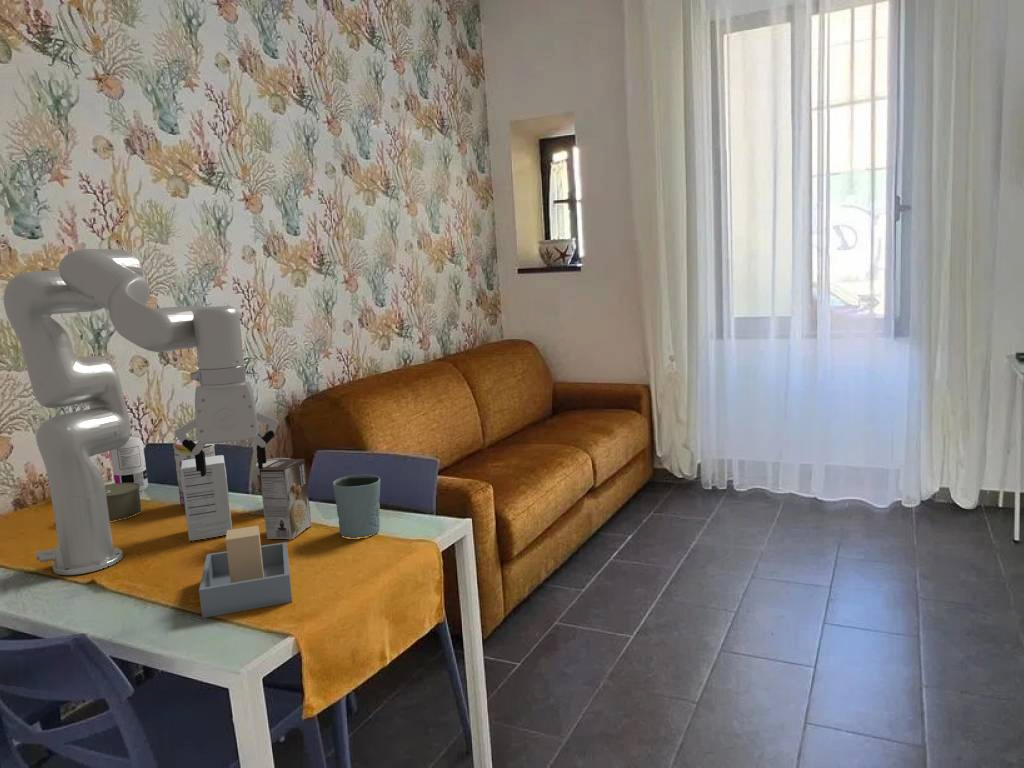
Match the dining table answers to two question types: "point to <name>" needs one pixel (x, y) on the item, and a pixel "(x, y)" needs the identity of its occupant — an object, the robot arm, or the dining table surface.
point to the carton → (244, 554)
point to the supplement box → (206, 498)
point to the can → (122, 500)
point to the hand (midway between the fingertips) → (232, 471)
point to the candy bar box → (186, 454)
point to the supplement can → (130, 463)
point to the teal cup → (358, 505)
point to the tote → (245, 583)
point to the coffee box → (285, 498)
